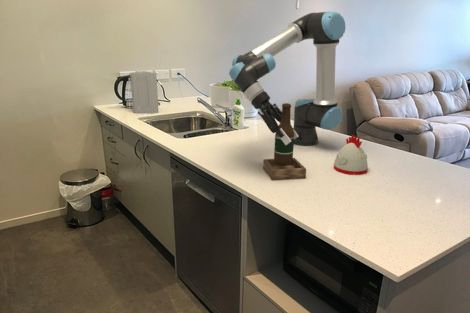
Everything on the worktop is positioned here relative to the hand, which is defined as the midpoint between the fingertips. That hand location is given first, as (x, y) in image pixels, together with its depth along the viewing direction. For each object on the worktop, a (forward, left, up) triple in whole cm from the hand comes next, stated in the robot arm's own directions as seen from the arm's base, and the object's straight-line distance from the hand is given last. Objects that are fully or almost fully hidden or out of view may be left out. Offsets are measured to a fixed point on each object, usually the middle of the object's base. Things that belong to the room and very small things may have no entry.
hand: (292, 140), depth 144 cm
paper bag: (+66, -136, -15) cm, 152 cm away
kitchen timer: (-28, -2, -15) cm, 32 cm away
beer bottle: (+3, -2, -10) cm, 10 cm away
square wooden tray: (+2, -2, -15) cm, 15 cm away
